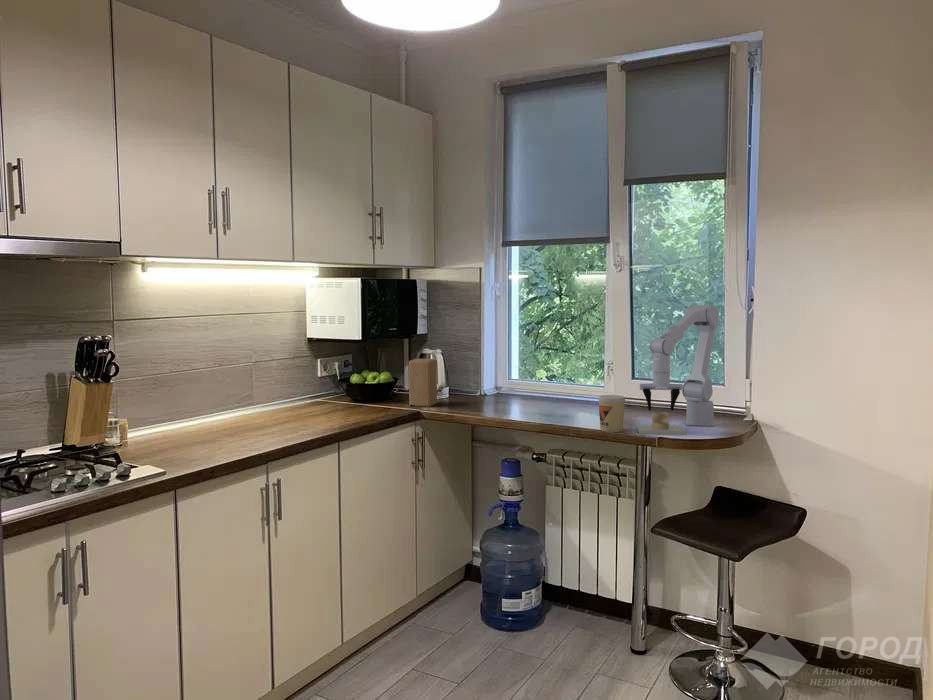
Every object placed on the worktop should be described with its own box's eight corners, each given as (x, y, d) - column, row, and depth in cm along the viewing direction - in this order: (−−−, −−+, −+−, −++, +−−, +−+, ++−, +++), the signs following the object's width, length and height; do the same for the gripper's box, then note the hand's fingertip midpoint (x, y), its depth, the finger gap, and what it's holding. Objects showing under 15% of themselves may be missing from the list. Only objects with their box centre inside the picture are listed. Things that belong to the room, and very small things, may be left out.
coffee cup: (593, 428, 259) (593, 395, 258) (615, 426, 262) (615, 394, 261) (607, 433, 250) (607, 399, 249) (630, 431, 254) (630, 397, 253)
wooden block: (408, 406, 311) (407, 360, 309) (416, 402, 320) (416, 358, 319) (430, 407, 308) (429, 360, 306) (437, 403, 317) (437, 358, 316)
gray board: (680, 427, 259) (680, 424, 259) (686, 434, 247) (686, 431, 247) (635, 427, 261) (635, 423, 261) (639, 433, 249) (639, 430, 249)
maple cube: (666, 426, 256) (666, 412, 256) (668, 428, 251) (668, 414, 251) (652, 425, 257) (652, 412, 257) (653, 428, 252) (654, 414, 252)
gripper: (641, 373, 249) (641, 411, 251) (684, 373, 248) (683, 412, 249) (639, 370, 256) (638, 408, 258) (681, 370, 255) (680, 408, 256)
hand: (660, 410), depth 254 cm, fingers open, 7 cm apart
